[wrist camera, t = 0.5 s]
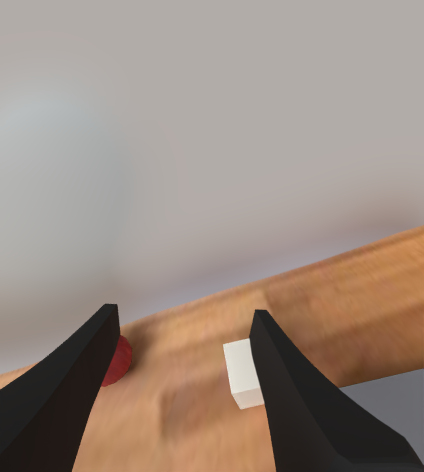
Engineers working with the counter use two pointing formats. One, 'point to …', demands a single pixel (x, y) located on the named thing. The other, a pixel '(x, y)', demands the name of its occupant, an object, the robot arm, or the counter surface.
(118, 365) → the onion
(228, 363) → the cream block
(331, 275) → the counter surface
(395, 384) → the riser block
